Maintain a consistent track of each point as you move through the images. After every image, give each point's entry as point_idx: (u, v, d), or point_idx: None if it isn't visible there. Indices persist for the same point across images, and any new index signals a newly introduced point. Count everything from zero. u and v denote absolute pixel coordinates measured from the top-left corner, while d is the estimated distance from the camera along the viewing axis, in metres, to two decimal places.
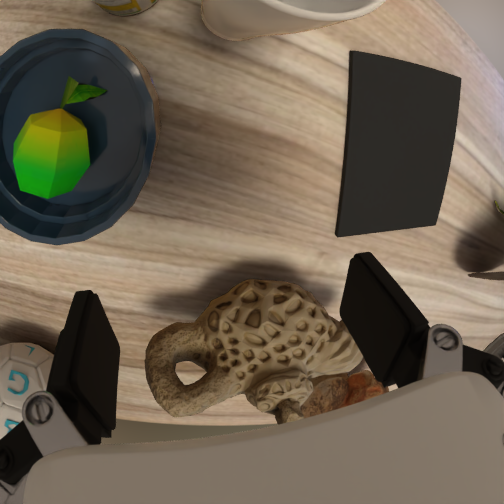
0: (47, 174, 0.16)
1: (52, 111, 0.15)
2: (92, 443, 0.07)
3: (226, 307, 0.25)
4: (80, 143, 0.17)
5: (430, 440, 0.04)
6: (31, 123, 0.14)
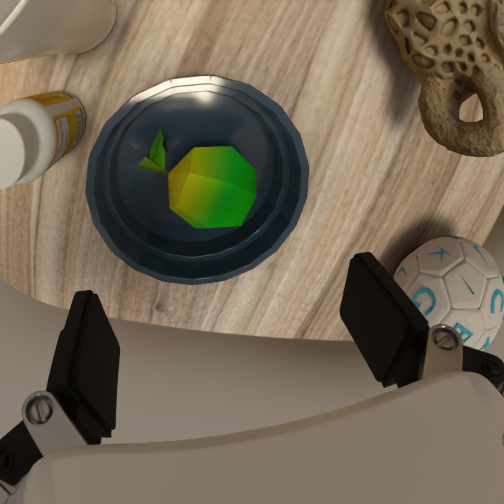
0: (229, 191, 0.19)
1: (169, 183, 0.20)
2: (92, 443, 0.07)
3: (410, 43, 0.16)
4: (206, 154, 0.19)
5: (430, 440, 0.04)
6: (175, 205, 0.20)
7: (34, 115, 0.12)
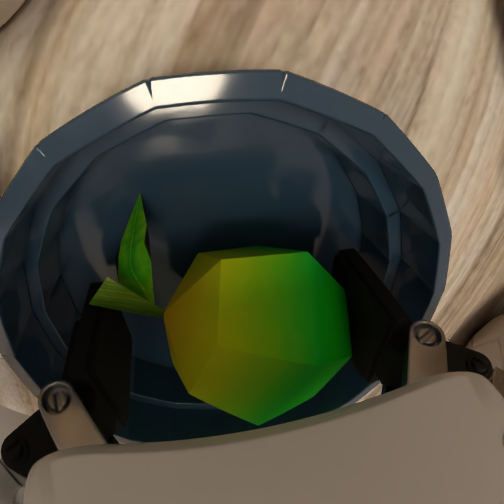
0: (310, 375, 0.08)
1: (168, 333, 0.09)
2: (107, 432, 0.07)
3: None
4: (253, 280, 0.08)
5: (430, 440, 0.04)
6: (187, 389, 0.09)
7: None
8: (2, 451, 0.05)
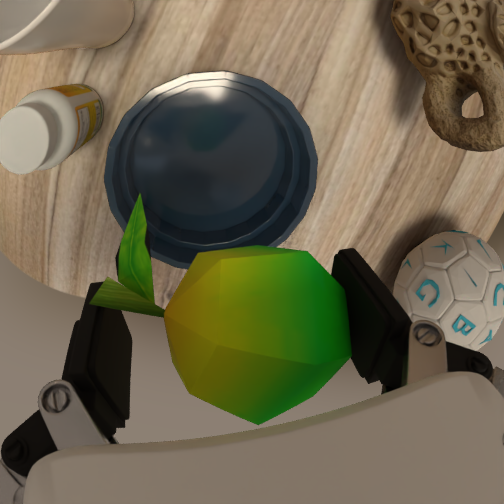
0: (310, 375, 0.08)
1: (168, 333, 0.09)
2: (107, 432, 0.07)
3: (414, 43, 0.16)
4: (253, 279, 0.08)
5: (430, 440, 0.04)
6: (187, 389, 0.09)
7: (57, 104, 0.14)
8: (2, 451, 0.05)
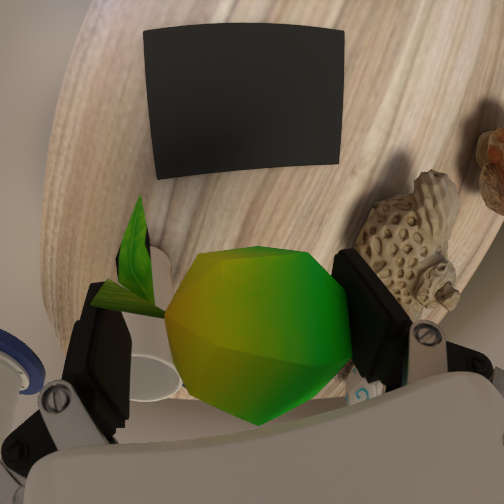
0: (310, 376, 0.08)
1: (168, 334, 0.09)
2: (107, 432, 0.07)
3: None
4: (253, 280, 0.08)
5: (430, 440, 0.04)
6: (187, 390, 0.09)
7: None
8: (2, 451, 0.05)
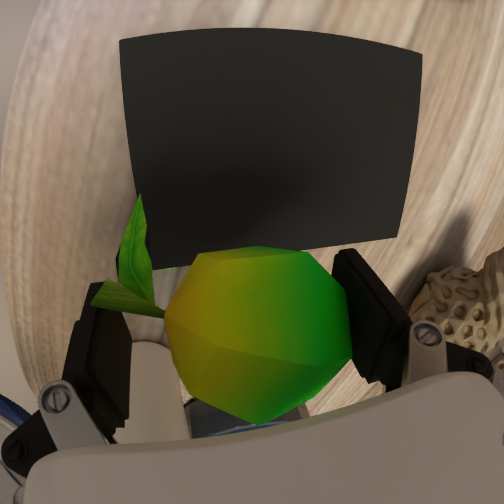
0: (311, 376, 0.08)
1: (168, 334, 0.09)
2: (107, 432, 0.07)
3: None
4: (253, 280, 0.08)
5: (430, 440, 0.04)
6: (187, 390, 0.09)
7: None
8: (2, 451, 0.05)
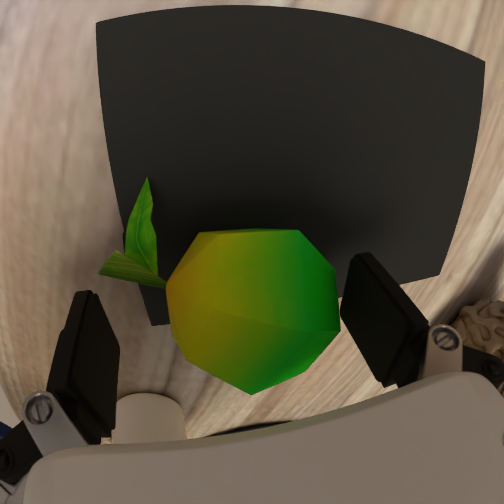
0: (299, 343, 0.09)
1: (169, 304, 0.10)
2: (92, 443, 0.07)
3: None
4: (247, 252, 0.09)
5: (430, 440, 0.04)
6: (185, 356, 0.09)
7: None
8: None
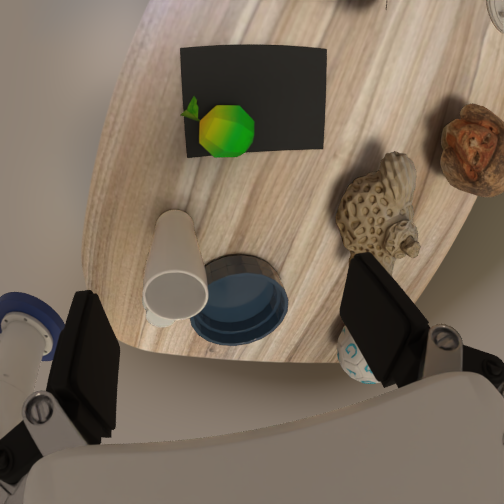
0: (238, 128, 0.30)
1: (200, 126, 0.32)
2: (92, 443, 0.07)
3: None
4: (224, 108, 0.31)
5: (430, 440, 0.04)
6: (204, 137, 0.31)
7: None
8: None
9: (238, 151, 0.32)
